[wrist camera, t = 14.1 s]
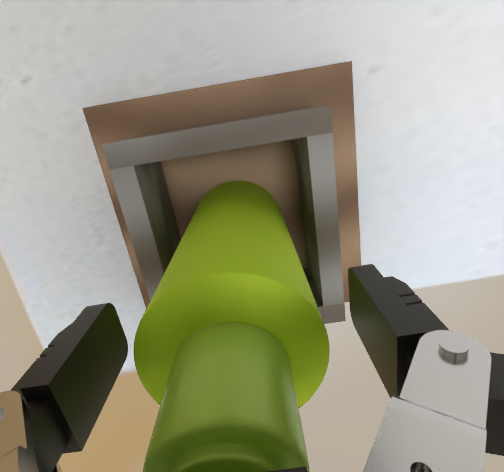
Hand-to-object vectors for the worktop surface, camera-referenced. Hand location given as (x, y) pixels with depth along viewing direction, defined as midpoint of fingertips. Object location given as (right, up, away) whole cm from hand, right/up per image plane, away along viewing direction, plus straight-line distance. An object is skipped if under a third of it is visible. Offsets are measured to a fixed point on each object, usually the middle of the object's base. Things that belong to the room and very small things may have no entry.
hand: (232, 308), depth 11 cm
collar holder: (0, +4, +12) cm, 12 cm away
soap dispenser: (0, +4, +11) cm, 12 cm away
